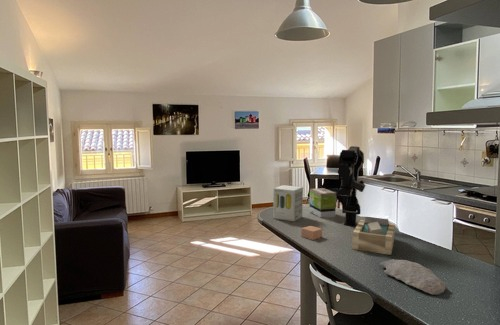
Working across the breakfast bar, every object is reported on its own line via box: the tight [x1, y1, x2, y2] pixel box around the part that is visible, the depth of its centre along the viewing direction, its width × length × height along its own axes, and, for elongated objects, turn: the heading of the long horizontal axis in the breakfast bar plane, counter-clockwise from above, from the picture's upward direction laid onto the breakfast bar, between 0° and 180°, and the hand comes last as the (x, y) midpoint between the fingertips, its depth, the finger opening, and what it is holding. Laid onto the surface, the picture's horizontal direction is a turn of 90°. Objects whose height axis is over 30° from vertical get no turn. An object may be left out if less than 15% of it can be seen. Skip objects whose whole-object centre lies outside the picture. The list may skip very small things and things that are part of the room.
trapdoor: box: [363, 216, 389, 235], centre depth 160 cm, size 18×10×3 cm, turn 153°
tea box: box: [308, 187, 337, 219], centre depth 211 cm, size 15×10×15 cm, turn 17°
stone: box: [379, 259, 446, 296], centre depth 123 cm, size 16×6×25 cm
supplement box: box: [272, 184, 304, 222], centre depth 203 cm, size 13×13×18 cm
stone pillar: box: [368, 222, 381, 235], centre depth 156 cm, size 4×4×7 cm
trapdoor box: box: [351, 219, 396, 256], centre depth 160 cm, size 23×16×7 cm
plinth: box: [300, 225, 323, 241], centre depth 169 cm, size 7×7×4 cm
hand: (346, 206), depth 176 cm, fingers open, 9 cm apart
